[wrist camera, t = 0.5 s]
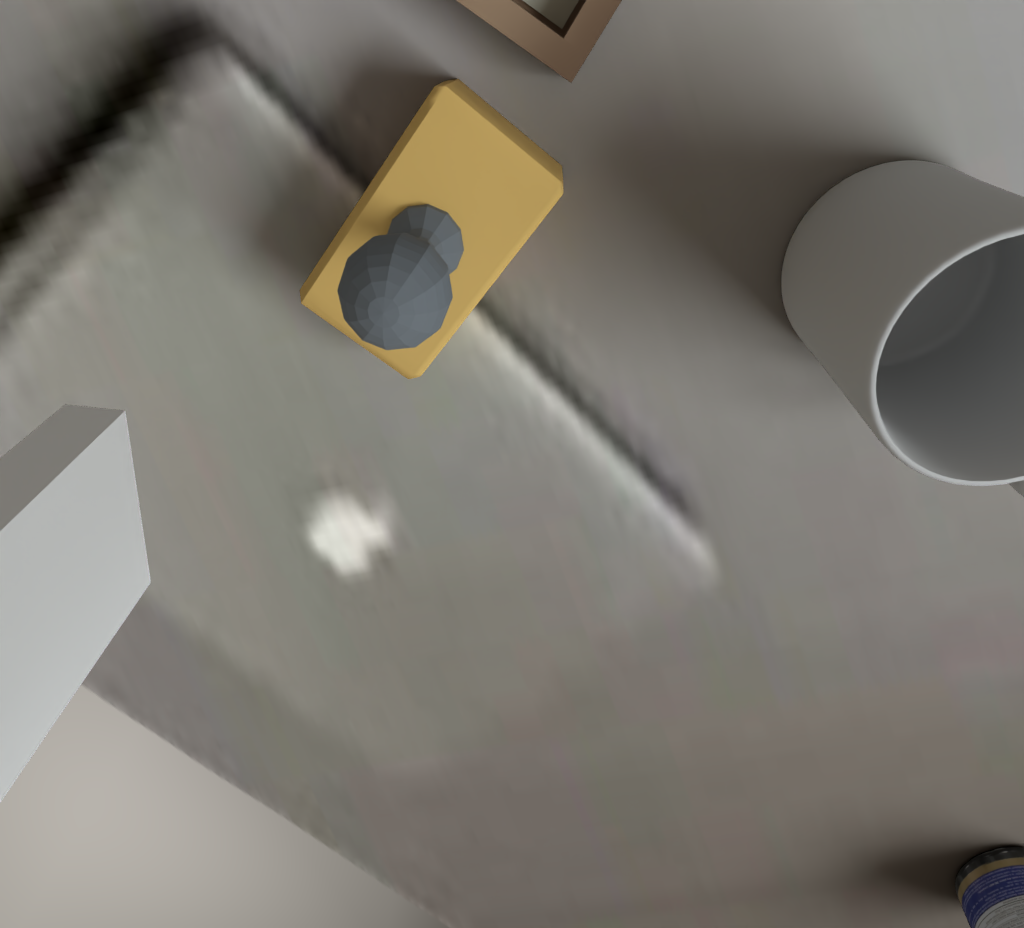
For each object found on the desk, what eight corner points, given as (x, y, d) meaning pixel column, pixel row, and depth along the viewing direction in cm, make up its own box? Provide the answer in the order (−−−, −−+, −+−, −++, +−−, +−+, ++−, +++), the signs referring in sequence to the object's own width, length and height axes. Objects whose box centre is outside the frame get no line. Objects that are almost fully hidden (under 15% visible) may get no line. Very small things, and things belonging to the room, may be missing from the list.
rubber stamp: (451, 72, 31) (396, 98, 21) (568, 171, 33) (572, 242, 22) (317, 274, 35) (213, 382, 25) (426, 354, 37) (373, 487, 26)
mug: (741, 242, 34) (814, 331, 24) (944, 111, 31) (1119, 151, 21) (867, 455, 38) (971, 604, 28) (1054, 357, 35) (1240, 484, 26)
